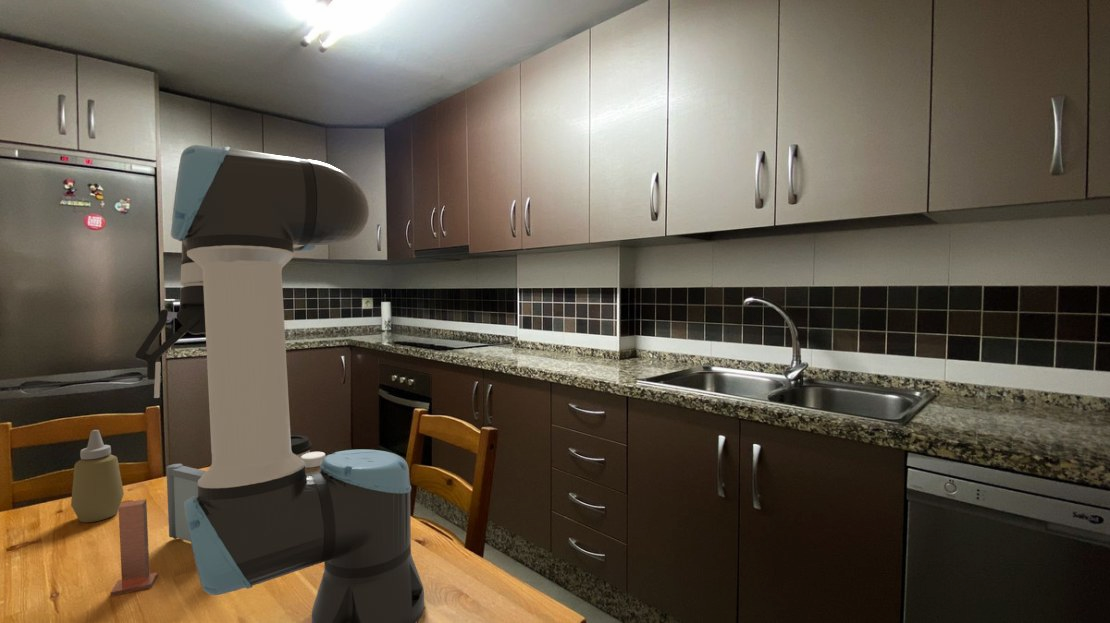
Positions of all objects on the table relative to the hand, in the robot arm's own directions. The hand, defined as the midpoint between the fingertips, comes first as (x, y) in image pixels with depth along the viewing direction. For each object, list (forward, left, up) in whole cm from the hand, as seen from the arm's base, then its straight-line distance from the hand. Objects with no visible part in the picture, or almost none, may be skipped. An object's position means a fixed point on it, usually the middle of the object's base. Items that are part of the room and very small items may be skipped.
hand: (201, 395), depth 98 cm
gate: (-8, +2, -26) cm, 27 cm away
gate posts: (-16, +5, -26) cm, 31 cm away
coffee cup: (-3, -14, -26) cm, 30 cm away
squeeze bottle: (+20, +16, -26) cm, 37 cm away
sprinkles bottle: (-11, -17, -26) cm, 33 cm away
